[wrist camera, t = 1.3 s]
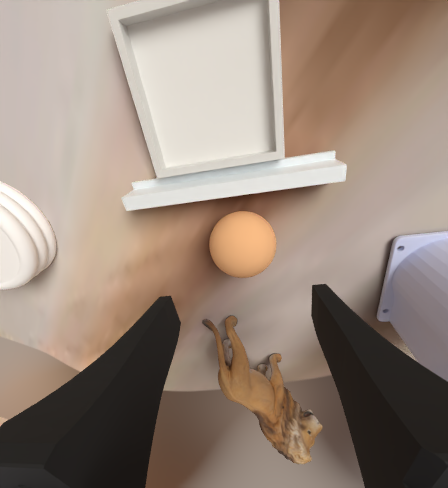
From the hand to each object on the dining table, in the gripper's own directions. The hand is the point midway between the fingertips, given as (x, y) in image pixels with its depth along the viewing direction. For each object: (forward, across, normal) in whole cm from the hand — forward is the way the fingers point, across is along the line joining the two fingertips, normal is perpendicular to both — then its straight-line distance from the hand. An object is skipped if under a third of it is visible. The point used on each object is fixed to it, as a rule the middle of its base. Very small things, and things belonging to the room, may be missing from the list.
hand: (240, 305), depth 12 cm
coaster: (+9, +22, -3) cm, 24 cm away
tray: (+9, +1, -10) cm, 13 cm away
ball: (+9, 0, 0) cm, 9 cm away
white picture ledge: (+9, 0, -4) cm, 10 cm away
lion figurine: (+9, 0, +16) cm, 18 cm away
